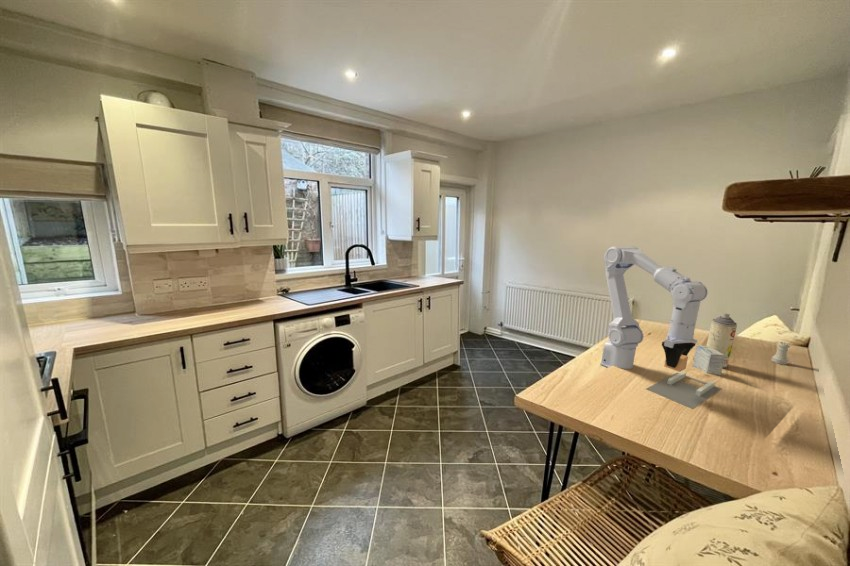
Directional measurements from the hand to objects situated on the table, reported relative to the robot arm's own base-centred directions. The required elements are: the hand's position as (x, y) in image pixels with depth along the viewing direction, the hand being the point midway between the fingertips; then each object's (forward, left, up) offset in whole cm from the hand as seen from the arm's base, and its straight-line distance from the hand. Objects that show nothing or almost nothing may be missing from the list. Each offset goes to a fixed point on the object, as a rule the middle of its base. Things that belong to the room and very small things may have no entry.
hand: (674, 364), depth 96 cm
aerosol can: (-1, +41, -10) cm, 42 cm away
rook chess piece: (+11, +66, -10) cm, 68 cm away
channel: (+2, +6, -10) cm, 12 cm away
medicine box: (0, +29, -10) cm, 31 cm away
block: (0, 0, -1) cm, 1 cm away
